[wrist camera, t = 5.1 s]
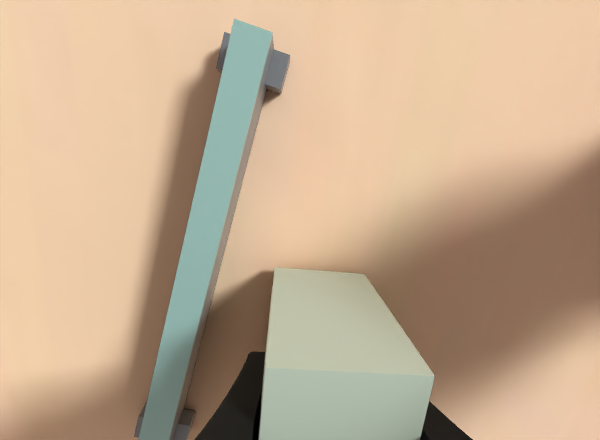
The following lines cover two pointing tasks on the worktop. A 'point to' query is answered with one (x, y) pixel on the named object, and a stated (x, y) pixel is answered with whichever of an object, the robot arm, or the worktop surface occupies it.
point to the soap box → (338, 363)
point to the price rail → (210, 221)
